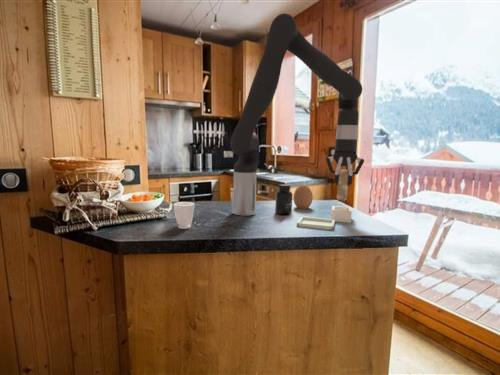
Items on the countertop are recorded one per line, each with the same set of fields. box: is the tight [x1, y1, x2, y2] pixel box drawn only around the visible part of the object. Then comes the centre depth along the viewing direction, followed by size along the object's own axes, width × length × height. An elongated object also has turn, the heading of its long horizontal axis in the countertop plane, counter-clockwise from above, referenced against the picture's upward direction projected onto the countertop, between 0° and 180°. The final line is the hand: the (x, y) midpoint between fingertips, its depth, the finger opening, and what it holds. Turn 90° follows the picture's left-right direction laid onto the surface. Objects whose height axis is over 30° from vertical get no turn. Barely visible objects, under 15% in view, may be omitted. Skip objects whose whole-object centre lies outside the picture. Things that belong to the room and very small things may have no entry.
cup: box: [172, 201, 196, 230], centre depth 101 cm, size 7×10×8 cm
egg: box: [292, 183, 314, 210], centre depth 129 cm, size 8×8×11 cm
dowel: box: [336, 169, 349, 201], centre depth 109 cm, size 4×4×11 cm
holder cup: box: [330, 205, 353, 223], centre depth 111 cm, size 7×7×5 cm
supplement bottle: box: [274, 183, 293, 216], centre depth 121 cm, size 7×7×12 cm
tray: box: [296, 216, 336, 231], centre depth 103 cm, size 12×10×2 cm
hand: (342, 185), depth 109 cm, fingers closed on dowel, 3 cm apart
